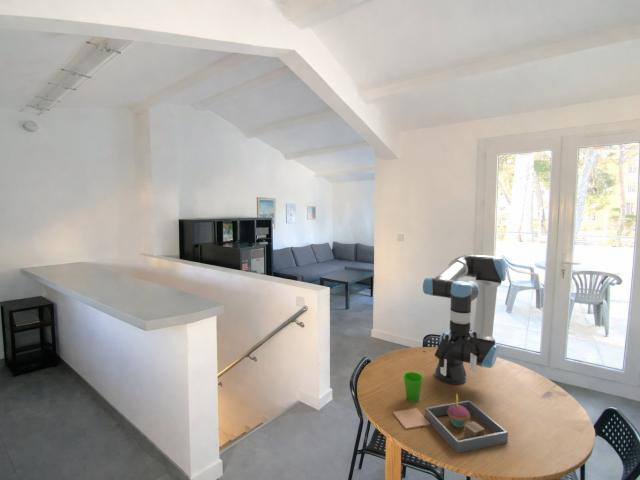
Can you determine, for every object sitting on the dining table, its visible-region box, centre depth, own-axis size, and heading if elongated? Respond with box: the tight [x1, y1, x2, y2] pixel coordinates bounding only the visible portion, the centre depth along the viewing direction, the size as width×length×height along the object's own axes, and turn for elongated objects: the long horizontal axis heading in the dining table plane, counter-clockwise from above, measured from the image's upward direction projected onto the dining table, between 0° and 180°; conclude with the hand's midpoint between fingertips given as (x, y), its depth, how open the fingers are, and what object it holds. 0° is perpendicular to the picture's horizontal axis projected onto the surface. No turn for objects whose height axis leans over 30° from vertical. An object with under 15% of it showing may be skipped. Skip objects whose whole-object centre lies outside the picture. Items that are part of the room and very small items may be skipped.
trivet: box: [392, 407, 431, 430], centre depth 142 cm, size 11×11×1 cm
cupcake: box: [446, 394, 471, 428], centre depth 138 cm, size 9×8×12 cm
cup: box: [402, 371, 424, 403], centre depth 156 cm, size 9×9×11 cm
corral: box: [424, 400, 509, 454], centre depth 135 cm, size 22×22×4 cm
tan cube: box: [463, 420, 486, 439], centre depth 130 cm, size 5×5×5 cm
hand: (458, 372), depth 137 cm, fingers open, 13 cm apart
